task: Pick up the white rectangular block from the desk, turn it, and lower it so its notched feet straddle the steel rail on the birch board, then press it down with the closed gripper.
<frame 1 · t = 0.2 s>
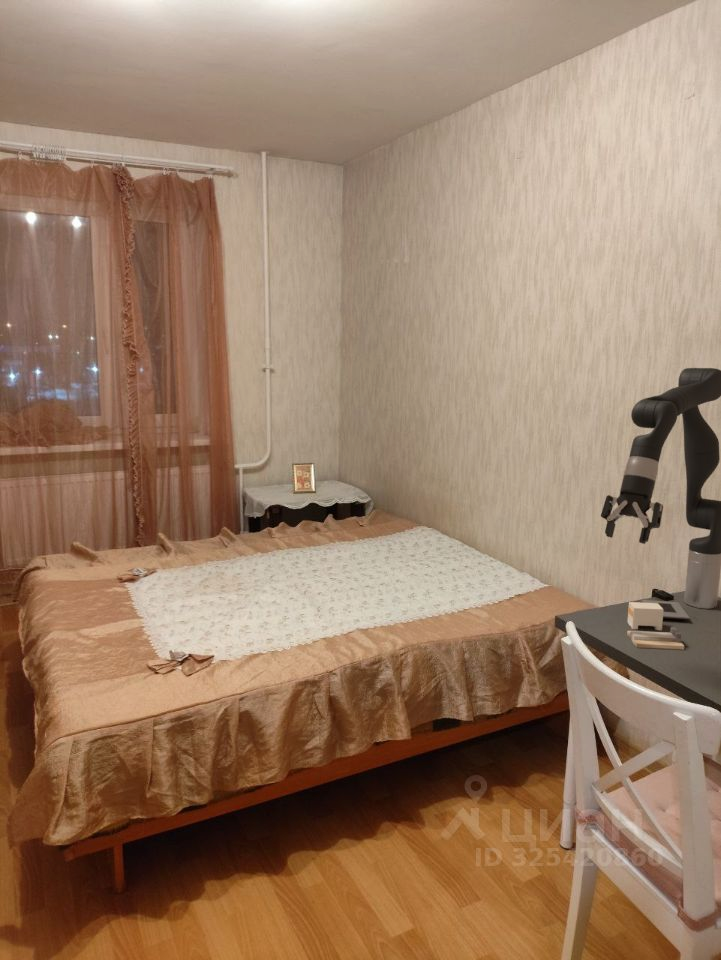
hand: (625, 540, 168), 31 cm above the table, tool tilted 20°, fingers open, 8 cm apart
rail board: (654, 641, 183), on the table
white rectangular block: (644, 626, 193), on the table
electrical outlet: (664, 615, 203), on the table
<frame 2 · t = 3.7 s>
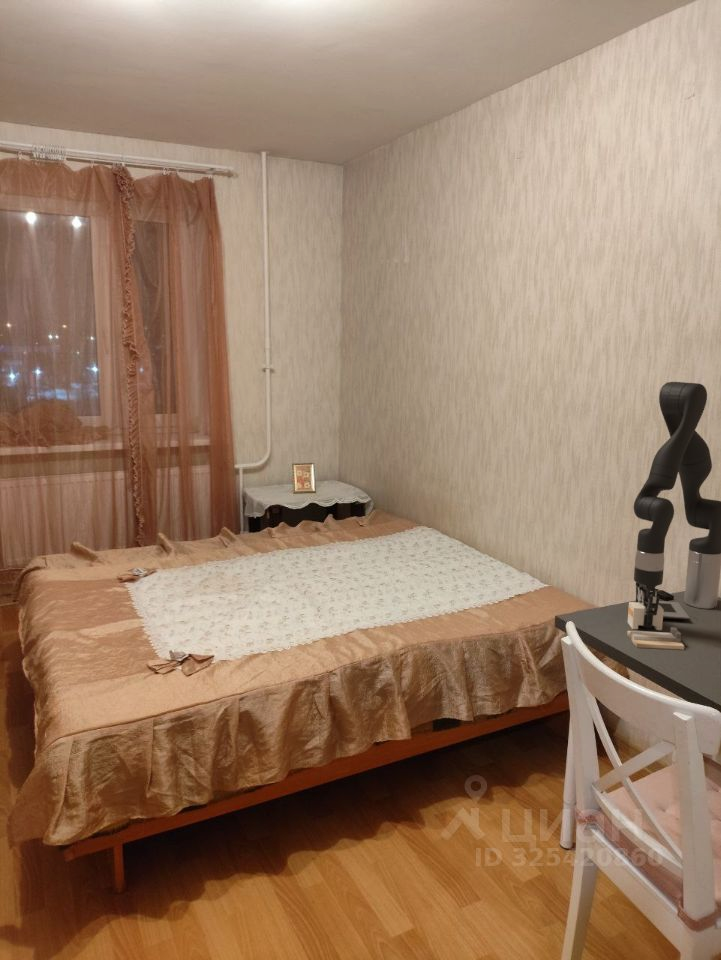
hand: (644, 623, 193), 1 cm above the table, tool pointing down, fingers closed on white rectangular block, 5 cm apart
white rectangular block: (644, 626, 193), on the table, touching gripper
everything else where it was.
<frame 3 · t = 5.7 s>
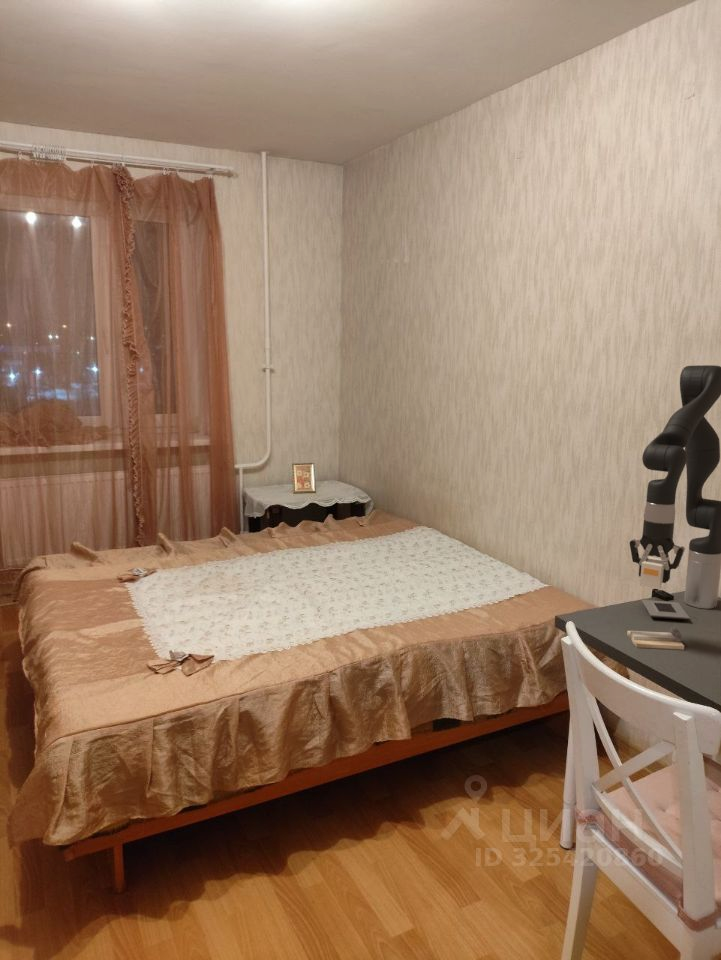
hand: (653, 580, 183), 16 cm above the table, tool pointing down, fingers closed on white rectangular block, 5 cm apart
white rectangular block: (653, 583, 183), point 15 cm above the table, touching gripper
everything else where it was.
when the fingers open (3 cm above the table, at t = 8.2 s): white rectangular block drops 1 cm, resting on rail board.
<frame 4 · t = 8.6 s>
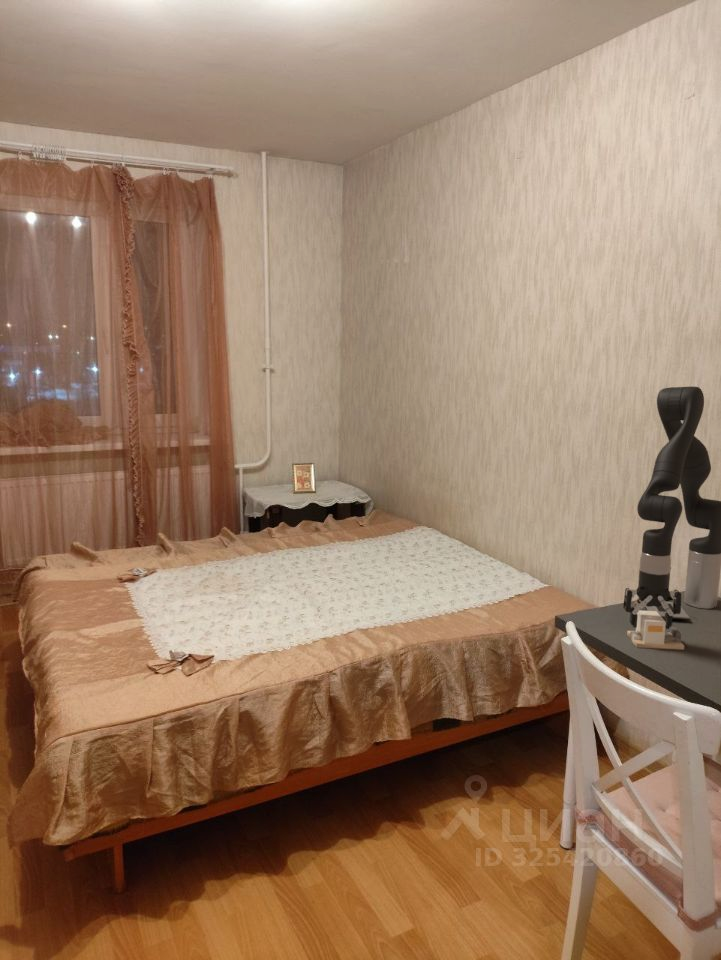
hand: (650, 627, 182), 4 cm above the table, tool pointing down, fingers open, 8 cm apart
white rectangular block: (649, 637, 183), point 1 cm above the table, touching rail board
everything else where it was.
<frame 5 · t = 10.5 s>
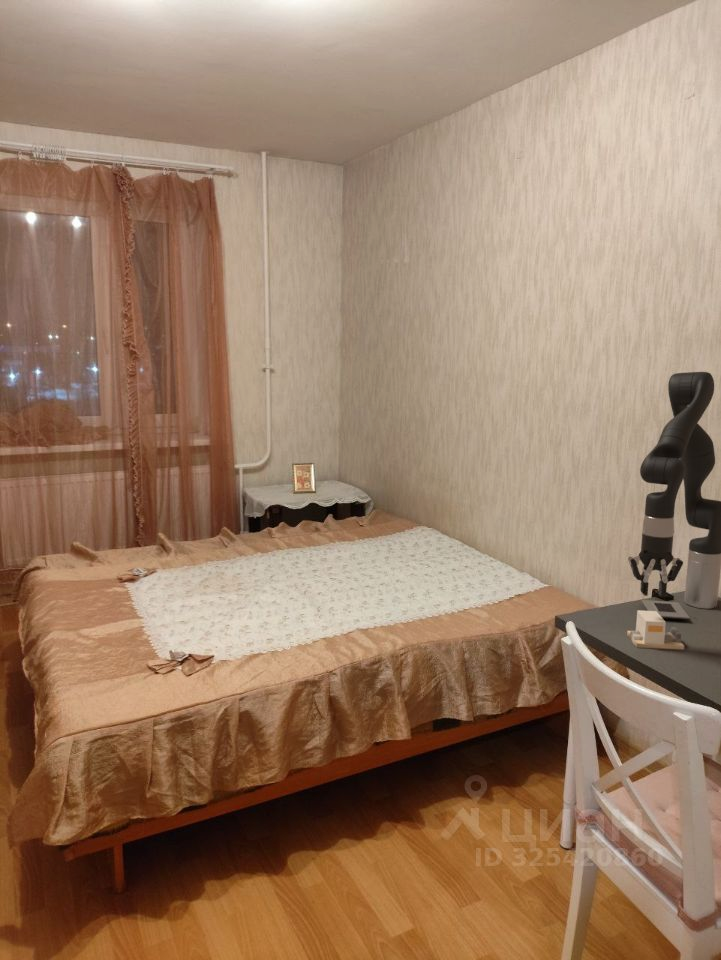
hand: (652, 594, 181), 13 cm above the table, tool pointing down, fingers open, 3 cm apart
nothing on the table moved.
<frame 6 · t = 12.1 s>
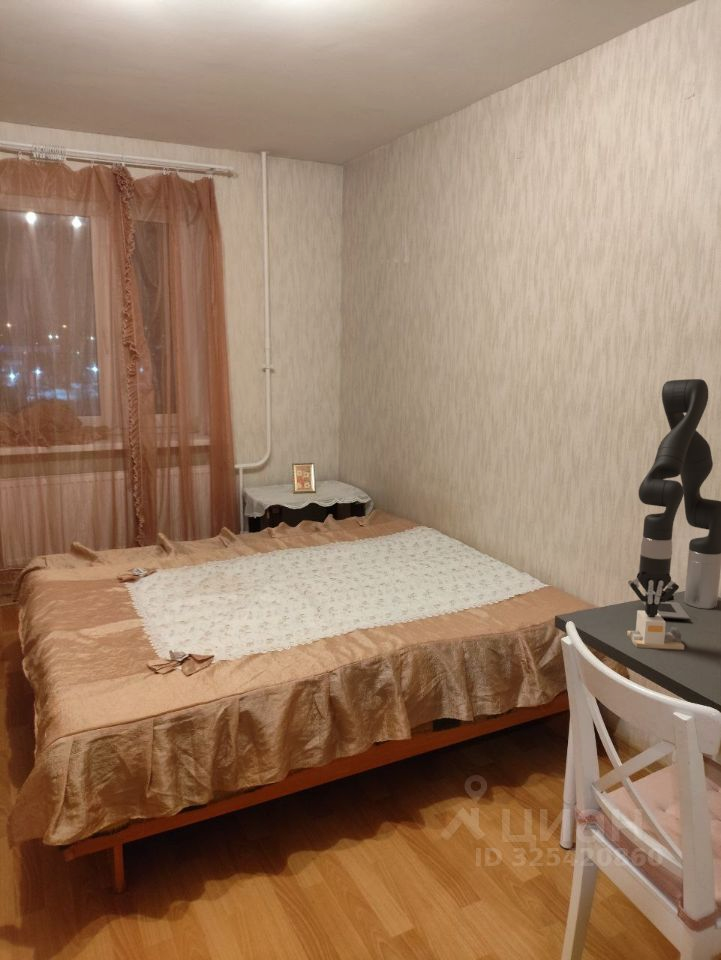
hand: (650, 616, 182), 7 cm above the table, tool pointing down, fingers closed
white rectangular block: (649, 637, 183), point 1 cm above the table, touching gripper, rail board
everything else where it was.
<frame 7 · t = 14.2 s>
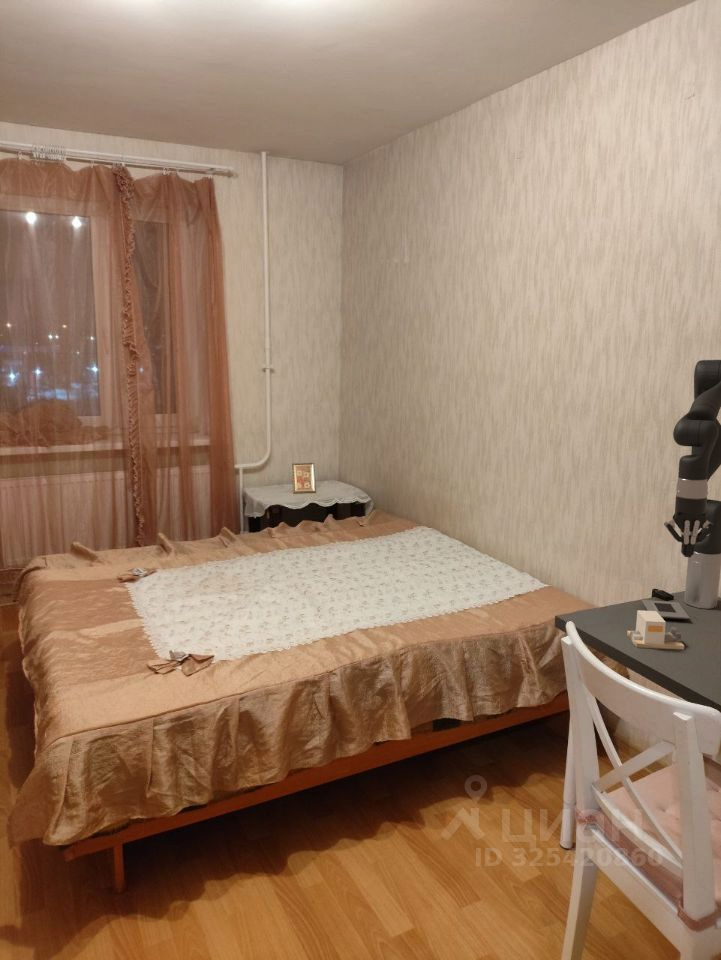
hand: (687, 556, 184), 22 cm above the table, tool pointing down, fingers closed
white rectangular block: (649, 637, 183), point 1 cm above the table, touching rail board
everything else where it was.
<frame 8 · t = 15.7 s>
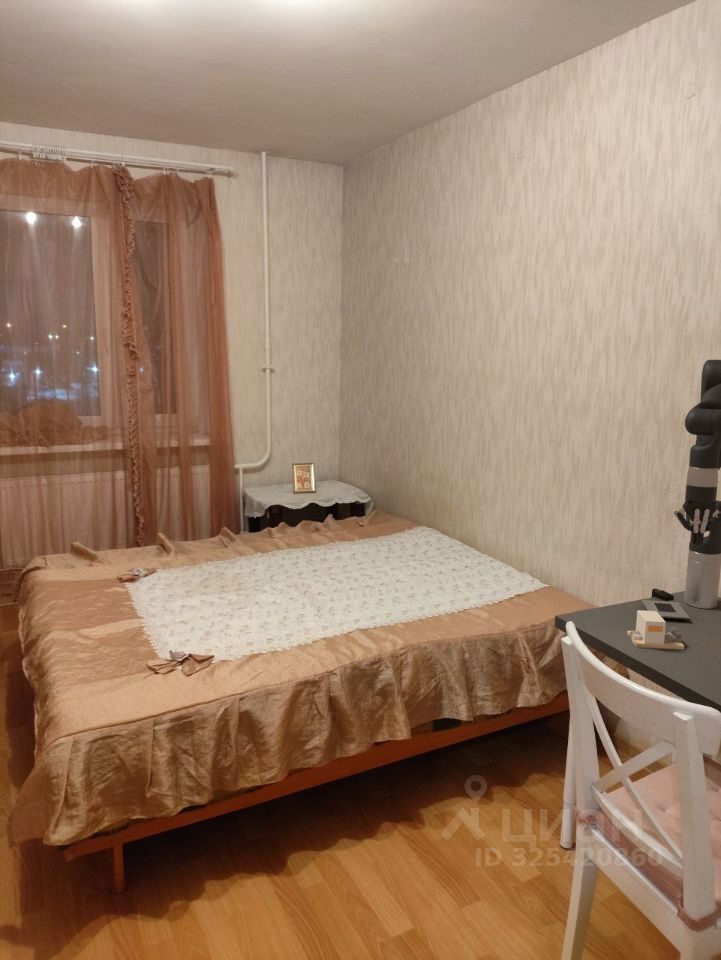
hand: (696, 545, 185), 25 cm above the table, tool pointing down, fingers closed
nothing on the table moved.
at the end: white rectangular block 0.0 cm from the target spot on the rail board, point 1.0 cm above the rail board's base; white rectangular block tilted 0°; the gripper is holding nothing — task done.
